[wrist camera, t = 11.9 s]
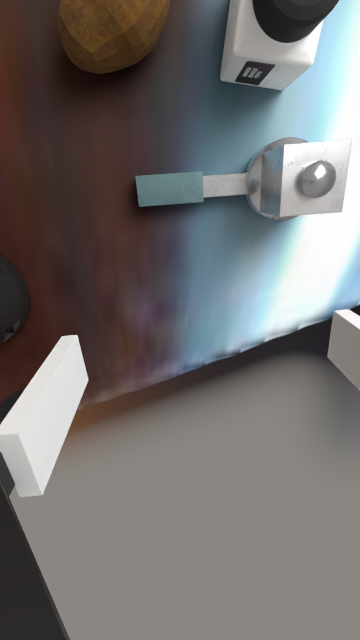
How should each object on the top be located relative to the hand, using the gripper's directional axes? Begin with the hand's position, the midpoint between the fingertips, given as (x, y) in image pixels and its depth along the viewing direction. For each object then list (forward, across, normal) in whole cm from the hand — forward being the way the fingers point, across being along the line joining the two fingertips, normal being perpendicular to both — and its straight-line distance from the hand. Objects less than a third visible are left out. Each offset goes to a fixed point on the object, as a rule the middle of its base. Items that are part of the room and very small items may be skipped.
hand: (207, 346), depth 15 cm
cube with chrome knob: (+25, +13, +7) cm, 30 cm away
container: (+29, +10, +21) cm, 37 cm away
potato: (+29, -4, +24) cm, 38 cm away
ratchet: (+28, +7, +7) cm, 30 cm away
